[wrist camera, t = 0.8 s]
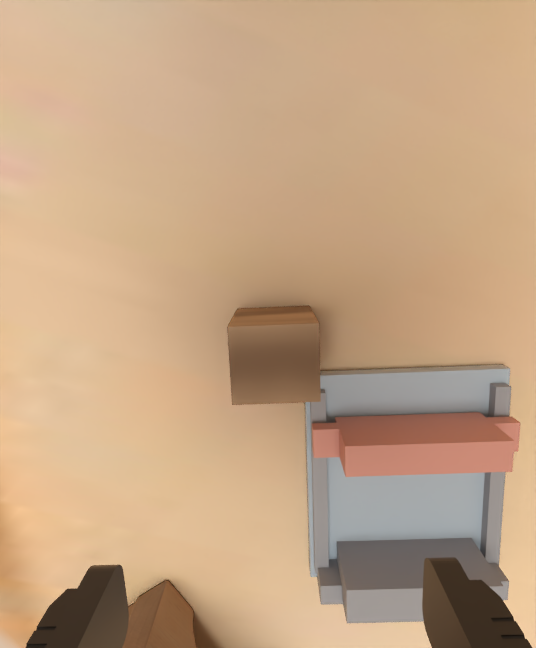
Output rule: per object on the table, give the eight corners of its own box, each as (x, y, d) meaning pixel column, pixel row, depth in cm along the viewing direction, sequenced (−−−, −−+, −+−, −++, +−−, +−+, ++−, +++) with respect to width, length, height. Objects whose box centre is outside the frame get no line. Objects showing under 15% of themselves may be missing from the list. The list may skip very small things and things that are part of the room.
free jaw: (310, 418, 29) (316, 447, 25) (504, 411, 29) (543, 439, 25) (311, 444, 30) (317, 477, 26) (502, 438, 30) (540, 470, 25)
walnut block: (237, 308, 29) (227, 326, 23) (309, 305, 29) (319, 323, 23) (241, 370, 30) (232, 404, 24) (310, 367, 30) (320, 401, 24)
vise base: (303, 371, 30) (310, 400, 25) (502, 364, 30) (552, 391, 24) (309, 566, 33) (316, 630, 28) (489, 562, 33) (532, 625, 27)
